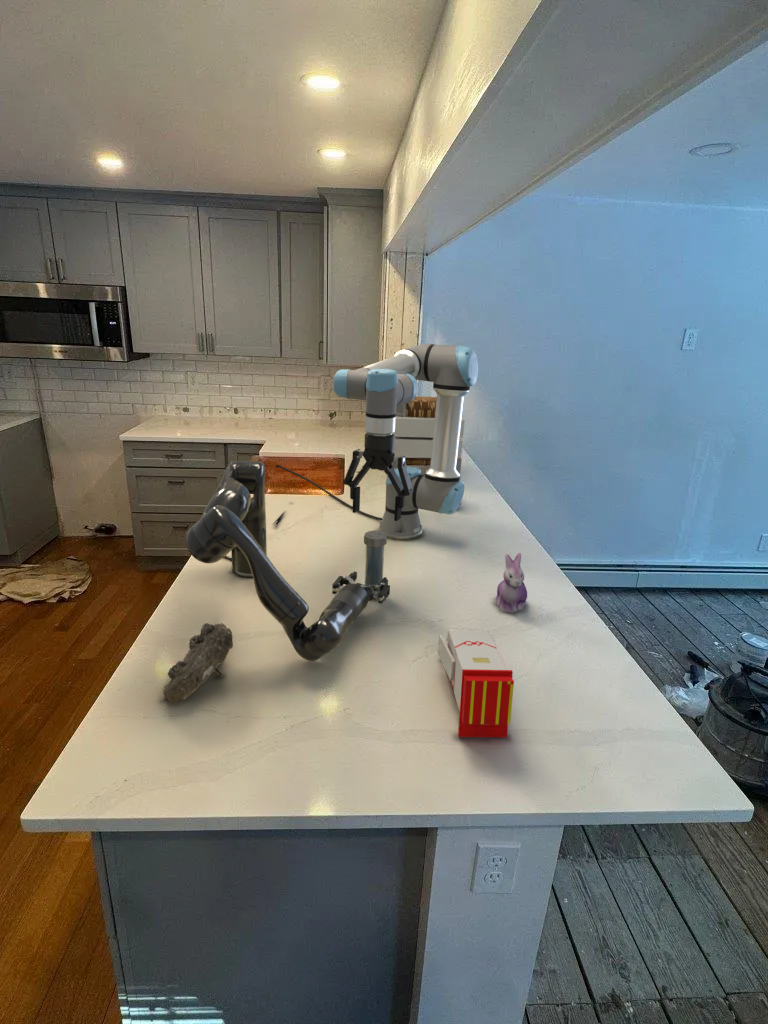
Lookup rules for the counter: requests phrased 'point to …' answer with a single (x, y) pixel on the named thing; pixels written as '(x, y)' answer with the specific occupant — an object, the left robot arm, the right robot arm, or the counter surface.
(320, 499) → the counter surface
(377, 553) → the jar
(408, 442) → the grey slatted crate
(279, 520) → the feather
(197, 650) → the fossil
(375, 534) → the lid
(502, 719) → the toy
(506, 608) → the figurine
